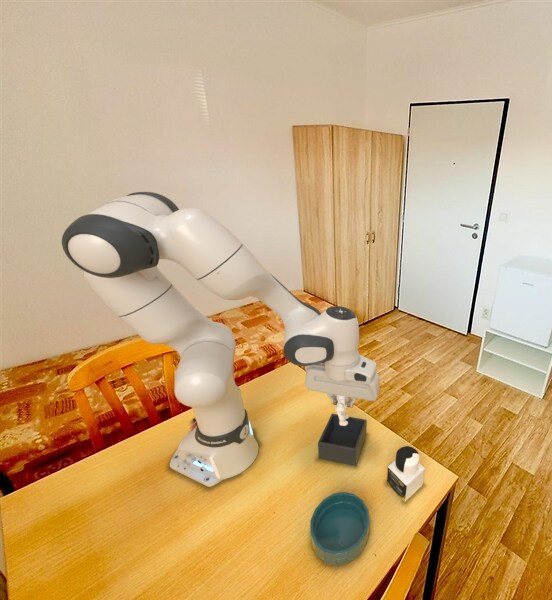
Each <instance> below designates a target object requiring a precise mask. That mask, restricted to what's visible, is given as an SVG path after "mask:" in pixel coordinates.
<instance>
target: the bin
mask: <svg viewBox="0 0 552 600" xmlns="http://www.w3.org/2000/svg"><path fill="white" fill-rule="evenodd" d="M345 420H346V421H348V424H347V425H346V426H341V425H339V421H340V420H339V416H338V414H337V413H331V414H330V417H329V418H328V421H327V423H326V425H325V427H324V429H323V431H322V433H321V435H320V437H319V439H318V442H317V452H318V453H317V454H318V460H323V461H328V462H333V463H338V464H343V465H347V466H352V467H353V466H354V467H357V466H358V462H359V459H360V456H361V454H362V453H361V452H362V449H363V446H364V443H365V440H366V437H367V425H368V424H367V421H368V420H367V419H364V418H359V417H353V416H349V418H348V419H345Z"/></svg>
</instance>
